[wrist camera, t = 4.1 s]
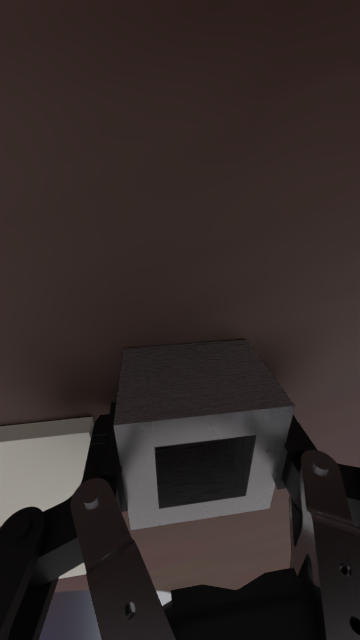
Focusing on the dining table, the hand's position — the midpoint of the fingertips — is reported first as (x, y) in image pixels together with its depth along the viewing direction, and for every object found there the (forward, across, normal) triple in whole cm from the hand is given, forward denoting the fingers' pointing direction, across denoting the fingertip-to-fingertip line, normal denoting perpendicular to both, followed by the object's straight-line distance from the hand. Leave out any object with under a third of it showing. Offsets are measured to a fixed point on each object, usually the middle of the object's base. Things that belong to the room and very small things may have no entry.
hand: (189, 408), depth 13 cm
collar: (+1, 0, 0) cm, 1 cm away
